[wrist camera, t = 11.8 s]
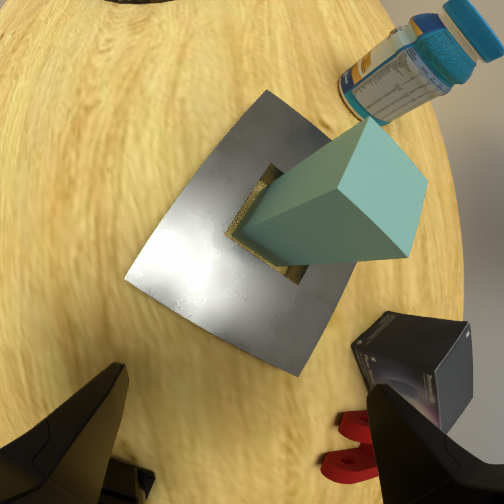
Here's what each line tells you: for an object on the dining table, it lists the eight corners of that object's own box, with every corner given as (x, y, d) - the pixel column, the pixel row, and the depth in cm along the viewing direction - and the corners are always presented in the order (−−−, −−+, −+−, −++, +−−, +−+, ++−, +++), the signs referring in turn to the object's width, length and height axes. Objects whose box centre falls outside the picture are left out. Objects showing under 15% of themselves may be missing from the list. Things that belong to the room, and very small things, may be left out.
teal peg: (276, 266, 22) (408, 257, 10) (231, 235, 21) (337, 188, 9) (300, 222, 23) (428, 181, 11) (259, 191, 22) (369, 115, 10)
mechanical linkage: (312, 464, 22) (337, 487, 18) (334, 411, 24) (365, 430, 19) (398, 446, 27) (422, 459, 23) (416, 403, 28) (443, 413, 24)
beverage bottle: (351, 128, 26) (499, 41, 8) (325, 68, 26) (440, -29, 8) (395, 131, 29) (519, 72, 11) (372, 78, 29) (476, 9, 11)
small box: (346, 346, 24) (434, 372, 14) (387, 308, 26) (471, 316, 17) (372, 412, 25) (441, 444, 15) (407, 376, 27) (475, 395, 18)
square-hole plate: (280, 365, 22) (298, 377, 19) (128, 277, 18) (124, 278, 15) (364, 198, 26) (384, 191, 23) (254, 107, 23) (266, 89, 20)
